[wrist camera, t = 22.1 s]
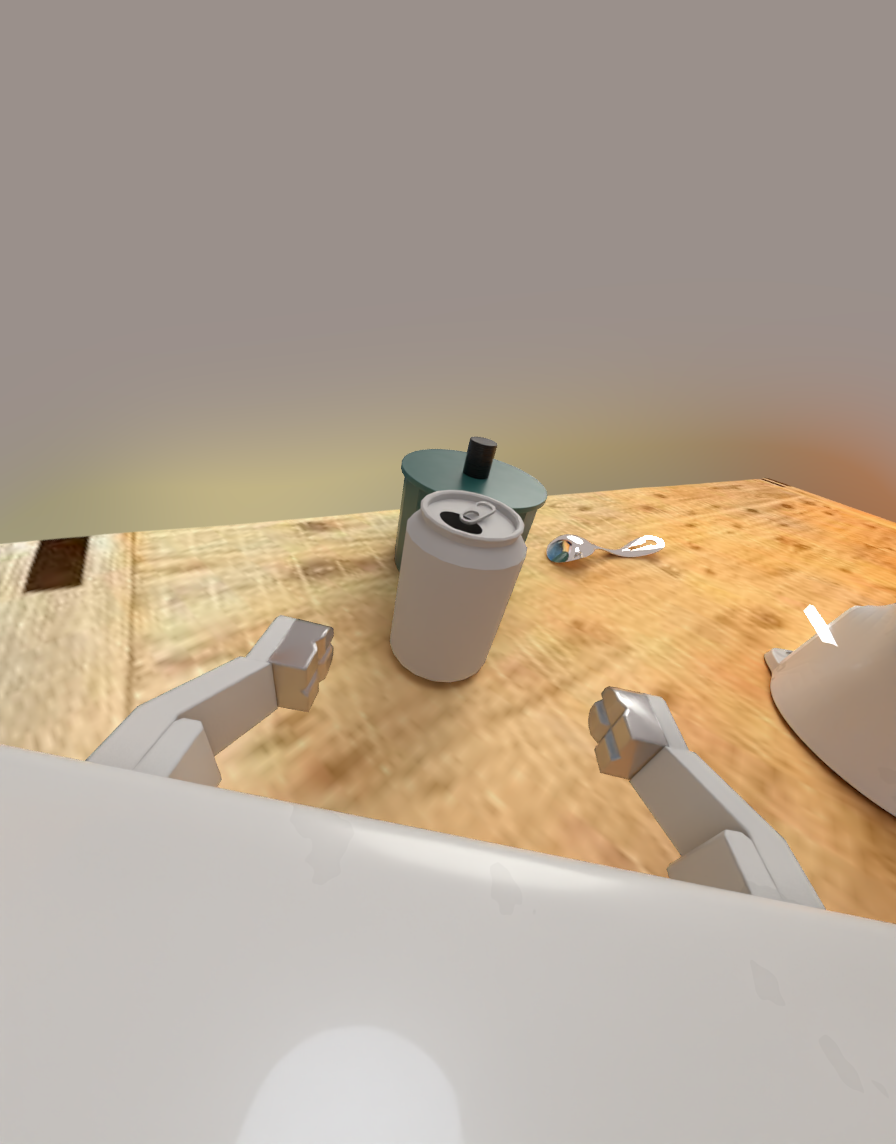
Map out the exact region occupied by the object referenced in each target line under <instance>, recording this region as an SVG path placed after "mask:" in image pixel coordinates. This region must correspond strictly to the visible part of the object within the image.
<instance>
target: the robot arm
mask: <svg viewBox="0 0 896 1144" xmlns="http://www.w3.org/2000/svg"><path fill="white" fill-rule="evenodd" d="M804 612H805V614H806V615H807V617H808V619H809V620H810V622H811V623H812V625H813V627H814V628H815V630H816V631H817V634H815V635H814V636H813V637H811V638H810V639H809V640H808V641H806V642H805V643H804V644H802V645H801V646H800V647H799V648H797V649H796V650H795V651H790V650H785V649H779V648H773V649H771V650H770V651H768V652H767V653H766V654H764V658H765V660H766V663H767V664H768V666H769V668H770V670H771V672H772V678H771V683H770V690H771V694H772V697H773V700H774V702H775V704H776V706H777V708H778V709H779V711H780V713H781V714H782V716H783V717H784V719H785V720H786V721H787V723H788V724H789V725H790V727H791V728H792V729H793V730H794V732H795V733H796V734H797V735H798V736H799V737H800V739H801V740H802V741H803V742H804V743H805V744H806V745H807V746H808V747H809V748H810V749H811V750H812V751H813V752H814V753H815V754H816V755H817V756H818V757H819V758H820V759H821V760H822V761H823V762H824V763H825V764H827V765H828V766H829V767H830V768H831V769H832V770H833V771H834V772H836V773H837V774H838V775H839V776H840V777H842V778H843V779H844V780H845V781H846V782H848V783H849V784H850V785H851V786H853V787H854V788H855V789H857V790H858V791H859V792H860V793H862V794H863V795H864V796H866V797H867V798H869V799H870V800H871V801H873V802H874V803H876V804H877V805H878V806H880V807H881V808H883V809H884V810H886V811H887V812H889V813H890V814H892V815H893V816H895V817H896V603H894V604H890V605H884V606H855V607H852V608H850V609H848V610H847V611H845V612H844V613H843V614H841V615H840V616H839V617H837V618H836V619H835V620H834V621H832V622H831V623H830V624H828V625H826V624H825V622H824V621H823V619H822V618H821V616H820V615H819V613H818V612H817V610H816V609H815V607H814V606H812V605H809V606H808V607H807V608H806V609H805V610H804ZM333 637H334V632H333V628H332V627H329V626H325V625H321V624H317V623H313V622H309V621H305V620H300V619H295V618H291V617H287V616H282V615H280V616H279V617H277V618H275V620H274V621H273V622H272V624H271V625H270V626H269V627H268V629H267V630H266V631H265V633H264V634H263V635H262V636H261V638H260V639H259V640H258V642H257V643H256V644H255V646H254V647H253V648H252V649H251V651H250V652H249V653H248V655H247V656H246V657H238V658H236V659H234V660H232V661H230V662H227V663H225V664H223V665H221V666H219V667H217V668H215V669H213V670H211V671H209V672H207V673H205V674H203V675H201V676H199V677H197V678H195V679H193V680H190V681H188V682H186V683H184V684H182V685H180V686H178V687H176V688H174V689H172V690H170V691H168V692H166V693H164V694H162V695H160V696H158V697H156V698H154V699H151V700H149V701H147V702H145V703H143V704H141V705H139V706H137V707H136V708H135V709H134V710H133V712H132V713H131V714H130V715H129V716H128V717H127V718H126V719H125V720H124V721H123V722H122V723H121V724H120V725H119V726H118V727H117V728H116V729H115V730H114V731H113V732H112V733H111V734H110V735H109V736H108V737H107V739H106V740H105V741H104V742H103V743H102V744H101V745H100V746H99V747H98V748H97V749H96V750H95V751H94V752H93V753H92V754H91V755H90V756H89V757H88V758H87V759H86V760H85V761H83V760H78V759H73V758H68V757H63V756H58V755H53V754H48V753H43V752H38V751H33V750H28V749H23V748H18V747H13V746H8V745H3V744H0V1144H896V924H894V923H889V922H884V921H879V920H874V919H869V918H864V917H859V916H854V915H849V914H844V913H839V912H834V911H829V910H826V909H825V907H824V905H823V904H822V902H821V900H820V899H819V897H818V895H817V893H816V892H815V890H814V888H813V887H812V885H811V883H810V882H809V880H808V878H807V876H806V875H805V873H804V871H803V870H802V868H801V866H800V864H799V863H798V861H797V859H796V858H795V856H794V854H793V852H792V851H791V849H790V847H789V846H788V844H787V842H786V841H785V839H784V838H782V837H781V836H780V835H779V834H778V833H777V832H776V831H775V830H774V829H773V828H772V827H771V826H770V825H769V824H768V823H767V822H766V821H765V820H764V819H763V818H762V817H761V816H760V815H759V814H758V813H757V812H756V811H755V810H754V809H753V808H752V807H750V806H749V805H748V804H747V803H746V802H745V801H744V800H743V799H742V798H741V797H740V796H739V795H738V794H737V793H736V792H735V791H734V790H733V789H732V788H731V787H730V786H729V785H728V784H727V783H726V782H725V781H724V780H723V779H722V778H721V777H720V776H718V775H717V774H716V773H715V772H714V771H713V770H712V769H711V768H710V767H709V766H708V765H707V764H706V763H705V762H704V761H703V760H702V759H701V758H700V757H699V756H698V755H697V754H696V753H695V752H691V751H689V749H688V747H687V745H686V743H685V741H684V739H683V737H682V735H681V733H680V731H679V729H678V727H677V725H676V723H675V721H674V719H673V717H672V714H671V712H670V710H669V708H668V706H667V704H666V702H665V701H664V700H663V699H662V698H661V697H659V696H654V695H649V694H645V693H640V692H635V691H630V690H626V689H621V688H616V687H611V686H609V687H607V688H605V689H604V691H603V692H602V693H601V695H602V698H603V699H602V700H600V701H598V702H595V703H594V704H593V706H592V708H591V709H590V713H589V718H588V724H589V730H590V734H591V736H592V737H593V738H594V739H595V741H596V742H597V745H596V747H595V749H594V750H595V754H596V758H597V762H598V766H599V770H600V773H603V774H607V775H611V776H616V777H620V778H624V779H628V780H630V781H629V782H630V783H631V785H632V786H633V788H634V789H635V790H636V792H637V793H638V795H639V796H640V798H641V799H642V800H643V802H644V803H645V805H646V806H647V807H648V809H649V810H650V812H651V813H652V815H653V816H654V817H655V819H656V820H657V822H658V823H659V825H660V826H661V827H662V829H663V830H664V832H665V833H666V835H667V836H668V837H669V839H670V840H671V842H672V843H673V845H674V846H675V847H676V849H677V850H678V852H679V853H680V855H681V856H682V857H680V858H679V859H677V860H675V861H674V862H672V863H670V864H669V866H668V867H667V872H668V875H669V878H665V877H660V876H655V875H650V874H645V873H640V872H635V871H630V870H625V869H620V868H615V867H610V866H605V865H600V864H595V863H590V862H585V861H580V860H575V859H571V858H566V857H561V856H556V855H551V854H546V853H541V852H536V851H531V850H526V849H521V848H516V847H511V846H506V845H501V844H496V843H491V842H486V841H481V840H476V839H471V838H466V837H461V836H456V835H451V834H446V833H441V832H436V831H431V830H427V829H422V828H417V827H412V826H407V825H402V824H397V823H392V822H387V821H382V820H377V819H372V818H367V817H362V816H357V815H352V814H347V813H342V812H337V811H332V810H327V809H322V808H317V807H312V806H307V805H302V804H297V803H292V802H287V801H282V800H277V799H272V798H267V797H262V796H257V795H252V794H247V793H242V792H237V791H232V790H227V789H222V788H217V787H218V785H219V783H220V782H221V780H222V779H221V774H220V771H219V769H218V766H217V763H216V760H215V758H214V756H215V755H217V754H218V753H219V752H221V751H222V750H223V749H225V748H226V747H227V746H229V745H230V744H231V743H233V742H234V741H235V740H237V739H238V738H239V737H241V736H242V735H243V734H245V733H246V732H247V731H249V730H250V729H251V728H253V727H254V726H255V725H257V724H258V723H259V722H261V721H262V720H263V719H264V718H266V717H267V716H268V715H270V714H271V713H272V712H274V711H275V710H276V709H278V707H282V708H288V709H294V710H299V711H305V712H309V710H310V708H311V706H312V704H313V702H314V700H315V698H316V696H317V694H318V692H319V682H321V681H322V680H324V679H325V678H326V676H327V673H328V671H329V669H330V665H331V662H332V658H333V646H332V645H331V641H332V639H333Z"/></svg>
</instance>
